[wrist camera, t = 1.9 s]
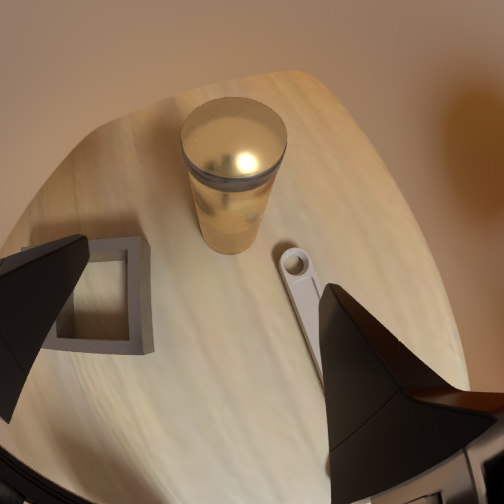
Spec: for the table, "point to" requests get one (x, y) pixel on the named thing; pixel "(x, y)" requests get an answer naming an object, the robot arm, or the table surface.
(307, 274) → the adjustable wrench
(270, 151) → the gold tin can
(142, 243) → the grey rectangular holder
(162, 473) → the table surface
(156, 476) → the table surface
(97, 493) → the table surface
